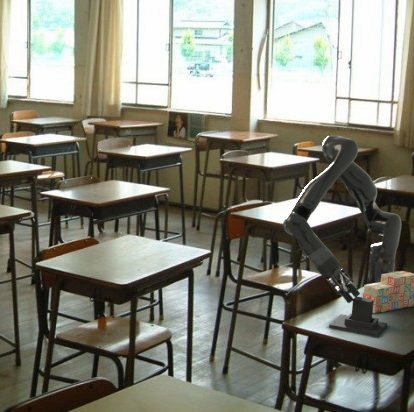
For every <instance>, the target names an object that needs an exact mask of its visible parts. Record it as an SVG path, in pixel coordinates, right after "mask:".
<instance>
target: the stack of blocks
mask: <svg viewBox="0 0 414 412" xmlns="http://www.w3.org/2000/svg"><path fill="white" fill-rule="evenodd" d="M362 297H363V298H368V299H374V303H373V313H372V314H378V313H384V312H388V311H389V312H390V311H394V310H399V309H404V308H409V307H414V273H412V272H408V271H404V270H400V271H398V270H397V271H394V272H392V273H387V274H382V276H381V282H379V283H373V284H368V285H367V284H364V285H363V293H362Z"/></svg>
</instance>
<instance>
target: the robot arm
mask: <svg viewBox="0 0 414 412" xmlns="http://www.w3.org/2000/svg"><path fill="white" fill-rule="evenodd" d="M321 149H322V155H323V156H324V158H325V159H326V162H328V163H329V164H330V165H329V166H328V167H327V168H326V169H325V170H324V171H323V172H321V173H320V174H319V175H318V176H316V177H315V178H314V179H312V180H311V181H309V183H308V184H307V185H306V186H305V187H304V189H302V192H301V193H300V195H299V196H298V198H297V200H296V202H295V204H294V206H293V207H292V208H291V210H290V211H289V212H288V214H287V215H286V216H285V219H284V220H283V222H282V228H283V230H284V231H285V233H286V234H288V235H291V236H293V238H294V239H295V240H296V241H297V243H298V246H299V248H300V249H301V251H302V252H303V253H304V254H305V256H306V257H307V258H308V260H309V261H310V263H311V264H312V265H313V267H314V268H315V269H316V271H318V273H319V274H320V276H321V277H322V278H323V279H325V278H327V277H328V279H326V280H327V283H328V284H329V286H330V287H331V288H332V289H333V291H334V292H335V294H336V295H341V296H342V297H343V299H344V301H346V302H347V303H348V304H351V303H353V299H354V298H355V297H356V296H357V297H359V296H360V295H361V292H360V291H359V290H358V288H357V287H356V286H355V285H354V284H355V281H354V279H353V278H352V277H351V276H350V274H349V273H348V272H347V271H346V270H345V268H341V269H339V268H340V267H341V266H342V263H341V262H340V261H339V260H338V259H337V257H336V256H335V255H334V254H333V252H332V251H331V250H330V248H328V246H326V245H325V244H324V243H323V241H322V240H321V239H320V238H319V237H318V236H317V234H316V233H315V232H314V230H313V228H312V227H311V226H310V224H309V222H308V220H309V219H310V217H311V215H312V214H313V213H314V212H315V210H316V209H317V208H318V206H319V204H320V203H321V201H322V199H324V197H325V195H326V194H327V192H328V191H329V190H330V188H331V187H332V186H333V185H335V182H337V181H338V179H340V180H341V181H342V183H343V184H344V186H345V188H346V189H347V192H348V193H349V195H350V196H351V198H352V199H353V201H354V203H355V204H356V205H357V207H358V209H359V211H360V213H361V215H362V217H363V219H364V222H365V224H366V226H367V228H368V230H369V231H370V232H371V233H372V234H374V235H376V236H382V240H381V242H377V243H373V244H371V245H370V250H369V258H368V259H369V260H368V270H367V280H366V281H367V282H366V285H368V284H373V283H379V282H381V276H382V274H387V273H392V272H395V266H396V255H397V250H398V247H399V243H400V237H401V231H402V218H401V217H400V215H399V214H397V213H393V212H388V211H384V210H382V209H380V208H379V206H378V205H377V203H376V199H377V196H378V189H377V186H376V184H375V182H374V181H373V179H372V177H371V176H370V175H369V174H368V173H367V172H366V170H364V169H363V168H362V167H361V166H359V165H358V164H357V163H356V162H355V159H356V158H357V156H358V153H359V145H358V142H357V141H356V140H354V139H352V138H348V137H345V136H340V135H330V136H329V135H328V136H327V137H326V138H324V140H323V142H322V146H321ZM347 289H348V290H347ZM351 294H352V295H351Z"/></svg>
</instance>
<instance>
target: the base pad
mask: <svg viewBox="0 0 414 412" xmlns="http://www.w3.org/2000/svg"><path fill="white" fill-rule="evenodd" d="M351 315H352V313H349V314H348V315H347V314H343V313H342V314H339V315H338V316H337V317H335V319H334V320H333V321H332V322H330V323H329V325H328V328H329V329H334V330H337V331H338V330H339V331H343V332H348V333H354V334H359V335H364V336H368V337H373V338H378V337H379V336H380V335H381V334H382V333H383V331H384V330H385V329H386V328H387V327H388V322H383V321H380V319H379V318H377V317H372V323H368V322H362V321H357V320H352V319H351Z"/></svg>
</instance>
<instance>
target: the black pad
mask: <svg viewBox="0 0 414 412" xmlns="http://www.w3.org/2000/svg"><path fill="white" fill-rule="evenodd" d="M373 303H374V299H368V298H363V296H356V297H353V301H352V305H351V314H352V315H351V319H352V320H357V321H362V322H368V323H372V318H373V314H374V313H373Z"/></svg>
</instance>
